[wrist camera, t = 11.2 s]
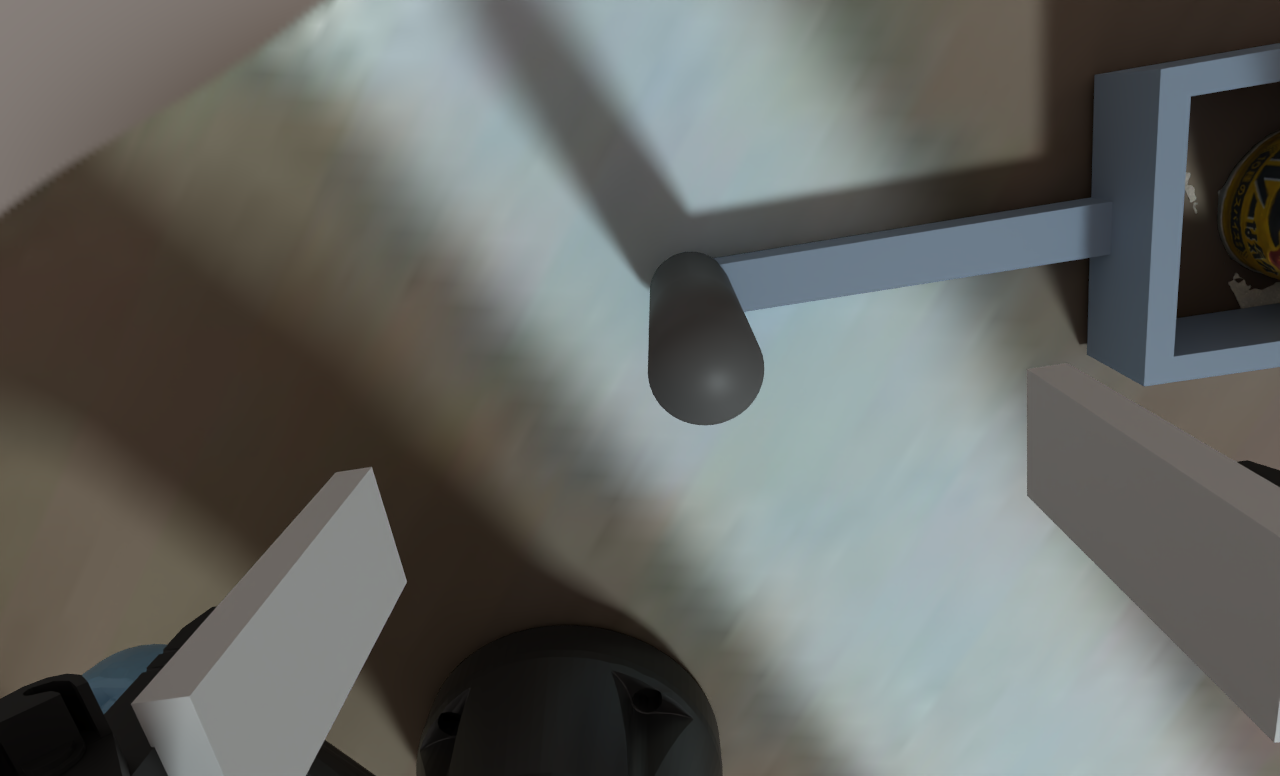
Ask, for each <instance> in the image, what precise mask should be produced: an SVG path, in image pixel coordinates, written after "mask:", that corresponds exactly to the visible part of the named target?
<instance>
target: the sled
mask: <svg viewBox="0 0 1280 776" xmlns="http://www.w3.org/2000/svg"><path fill="white" fill-rule="evenodd" d="M1279 81H1280V43H1276V44H1271V45H1265V46H1259V47H1253V48H1247V49H1242V50H1236V51H1230V52H1224V53H1218V54H1213V55H1207V56H1201V57H1195V58H1189V59H1184V60H1178V61H1172V62H1166V63H1160V64H1155V65H1149V66H1143V67H1137V68H1131V69H1126V70H1120V71H1114V72H1108V73H1102V74H1097V75H1095V81H1094V118H1093V155H1092V191H1091V197H1090V198H1084V199H1078V200H1071V201H1065V202H1059V203H1053V204H1047V205H1040V206H1034V207H1028V208H1022V209H1016V210H1010V211H1003V212H997V213H991V214H985V215H979V216H972V217H966V218H960V219H954V220H948V221H941V222H935V223H929V224H923V225H917V226H910V227H904V228H898V229H892V230H886V231H879V232H873V233H867V234H861V235H855V236H849V237H842V238H836V239H830V240H824V241H818V242H811V243H805V244H799V245H793V246H787V247H780V248H774V249H768V250H762V251H756V252H749V253H743V254H737V255H731V256H725V257H718V258H711V257H710V256H708V255H705V254H702V253H698V252H684V253H680V254H677V255H674V256H672V257H670V258H669V259H667V260H666V261H665V262H663V263H662V264H661V265H660V267H659V268H658V269H657V271H656V272H655V274H654V276H653V278H652V282H651V286H650V312H649V353H648V378H649V383H650V387H651V390H652V392H653V395H654V396H655V398H656V400H657V401H658V403H659V404H660V405H661V406H662V407H663V408H664V409H665V410H666V411H667V412H668V413H669V414H671V415H672V416H674V417H676V418H677V419H679V420H682V421H684V422H687V423H691V424H696V425H714V424H719V423H723V422H725V421H728V420H730V419H732V418H735V417H736V416H738V415H739V414H741V413H742V412H743V411H744V410H746V409H747V408H748V407H749V406H750V405H751V403H752V402H753V401H754V399H755V398H756V396H757V394H758V393H759V391H760V388H761V385H762V382H763V377H764V361H763V356H762V353H761V350H760V347H759V345H758V343H757V341H756V338H755V336H754V334H753V332H752V329H751V327H750V325H749V323H748V320H747V318H746V316H745V314H744V312H745V311H752V310H758V309H765V308H771V307H777V306H784V305H790V304H797V303H803V302H809V301H816V300H822V299H829V298H835V297H841V296H848V295H854V294H861V293H867V292H874V291H880V290H886V289H893V288H899V287H906V286H912V285H918V284H925V283H931V282H938V281H944V280H950V279H957V278H963V277H970V276H976V275H982V274H989V273H995V272H1002V271H1008V270H1014V269H1021V268H1027V267H1034V266H1040V265H1046V264H1053V263H1059V262H1066V261H1072V260H1079V259H1085V258H1090V265H1089V302H1088V339H1087V355H1089V356H1091V357H1093V358H1094V359H1096V360H1098V361H1100V362H1101V363H1103V364H1105V365H1107V366H1109V367H1110V368H1112V369H1114V370H1116V371H1118V372H1119V373H1121V374H1123V375H1125V376H1126V377H1128V378H1130V379H1132V380H1134V381H1135V382H1137V383H1139V384H1141V385H1143V386H1150V385H1157V384H1164V383H1171V382H1178V381H1185V380H1192V379H1198V378H1205V377H1212V376H1219V375H1226V374H1233V373H1240V372H1247V371H1254V370H1261V369H1268V368H1275V367H1280V303H1276V304H1269V305H1262V306H1256V307H1249V308H1242V309H1236V310H1229V311H1222V312H1216V313H1209V314H1202V315H1196V316H1189V317H1182V318H1176V314H1177V299H1178V284H1179V269H1180V254H1181V239H1182V224H1183V209H1184V193H1185V178H1186V163H1187V148H1188V133H1189V118H1190V103H1191V96H1196V95H1202V94H1208V93H1214V92H1220V91H1226V90H1232V89H1238V88H1244V87H1250V86H1256V85H1261V84H1267V83H1273V82H1279Z"/></svg>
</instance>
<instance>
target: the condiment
mask: <svg viewBox="0 0 1280 776" xmlns="http://www.w3.org/2000/svg"><path fill="white" fill-rule="evenodd" d="M1190 176H1191V175H1190V173H1186V178H1185V191H1186V193H1187V195H1188V197H1189V199H1190V202H1194V201H1195V200H1196V197H1195V194H1194V191H1195V188H1194V187H1193V186H1192V185H1187V184H1188V180H1189V178H1190ZM1218 194H1219V198H1218V199H1219V200H1218V215H1217V222H1218V231H1219V234H1220V238H1221V241H1222V242H1223V244H1224V247H1225V249H1226V250H1227V253H1228V255H1229V256H1230V258H1231V259H1234V260H1236V261H1237V262H1238V263H1239V264H1240V265H1241V266H1244V267H1246V268H1248V269H1250V270H1252V271H1255V272H1257V273H1262V274H1264V275H1266V276H1269V277H1272V278H1276V279H1278V280H1280V130H1279V131H1277V132H1274V133H1271V134H1269V135H1268V136H1266V137H1265V138H1264V139H1263V140H1262V141H1260V142H1259V143H1257V144H1256V145H1255V146H1254V147H1252V148H1251V149H1250V151H1249V152H1248V153H1247V154H1246V155H1245V156H1244V157H1243V158H1242V159H1241V160H1240V162H1239V163H1238V164H1237V165H1236V167H1235V168H1234V169H1233V171H1232V172H1231V174H1230V176H1229V178H1228V180H1227V182H1226V183H1225V185H1224V187H1222V189H1221V190H1219V191H1218ZM1197 204H1198V203H1195V202H1194V206H1195V205H1197ZM1194 206H1192V207H1193V208H1194V210H1195V213H1197V209H1196V208H1195V207H1194ZM1224 264H1225V263H1224ZM1236 278H1240V277H1239V275H1238V273H1236V274H1235V276H1234V277H1233V280H1232V281H1230V282H1228V283H1229V285H1230V287H1231V290H1232V291H1233V292H1234V293H1235V296H1236V298H1237V301H1238V303H1239V305H1240V307H1241V309H1242V308H1249V307H1256V306H1262V305H1269V304H1276V303H1280V282H1275V284H1274V285H1272V286H1269V287H1267V288H1265V289H1263V290H1262V291H1261V290H1259V289H1256V288H1255V289H1252V290H1250V291H1249V289H1250V288H1251V284H1250V285H1249V286H1247V285H1246V283H1245V280H1242V282H1240V283H1237V282H1236V281H1235V280H1234V279H1236ZM1241 279H1243V278H1241Z"/></svg>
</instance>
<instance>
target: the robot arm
mask: <svg viewBox="0 0 1280 776" xmlns="http://www.w3.org/2000/svg"><path fill="white" fill-rule="evenodd" d="M1027 496H1028V497H1029V498H1030V499H1031V500H1032V501H1033V502H1034V503H1035V504H1036V505H1037V506H1038V507H1039V508H1040V509H1041V510H1042V511H1043V512H1044V513H1045V514H1046V515H1047V516H1048V517H1049V518H1050V519H1051V520H1052V521H1053V522H1054V523H1055V524H1056V525H1057V526H1058V527H1059V528H1060V529H1061V530H1062V531H1063V532H1064V533H1065V534H1066V535H1067V536H1068V537H1069V538H1070V539H1071V540H1072V541H1073V542H1074V543H1075V544H1076V545H1077V546H1078V547H1079V548H1080V549H1081V550H1082V551H1083V552H1084V553H1085V554H1086V555H1087V556H1088V557H1089V558H1090V559H1091V560H1092V561H1093V562H1094V563H1095V564H1096V565H1097V566H1098V567H1099V568H1100V569H1101V570H1102V571H1103V572H1104V573H1105V574H1106V575H1107V576H1108V577H1109V578H1110V579H1111V580H1112V581H1113V582H1114V583H1115V584H1116V585H1117V586H1118V587H1119V588H1120V589H1121V590H1122V591H1123V592H1124V593H1125V594H1126V595H1127V596H1128V597H1129V598H1130V599H1131V600H1132V601H1133V602H1134V603H1135V604H1136V605H1137V606H1138V607H1139V608H1140V609H1141V610H1142V611H1143V612H1144V613H1145V614H1146V615H1147V616H1148V617H1149V618H1150V619H1151V620H1152V621H1153V622H1154V623H1155V624H1156V625H1157V626H1158V627H1159V628H1160V629H1161V630H1162V631H1163V632H1164V633H1165V634H1166V635H1167V636H1168V637H1169V638H1170V639H1171V640H1172V641H1173V642H1174V643H1175V644H1176V645H1177V646H1178V647H1179V648H1180V649H1181V650H1182V651H1183V652H1184V653H1185V654H1186V655H1187V656H1188V657H1189V658H1190V659H1191V660H1192V661H1193V662H1194V663H1195V664H1196V665H1197V666H1198V667H1199V668H1200V669H1201V670H1202V671H1203V672H1204V673H1205V674H1206V675H1207V676H1208V677H1209V678H1210V679H1211V680H1212V681H1213V682H1214V683H1215V684H1216V685H1217V686H1218V687H1219V688H1220V689H1221V690H1222V691H1223V692H1224V693H1225V694H1226V695H1227V696H1228V697H1229V698H1230V699H1231V700H1232V701H1233V702H1234V703H1235V704H1236V705H1237V706H1238V707H1239V708H1240V709H1241V710H1242V711H1243V712H1244V713H1245V714H1246V715H1247V716H1248V717H1249V718H1250V719H1251V720H1252V721H1253V722H1254V723H1255V724H1256V725H1257V726H1258V727H1259V728H1260V729H1261V730H1262V731H1263V732H1264V733H1265V734H1266V735H1267V736H1268V737H1269V738H1270V739H1271V740H1272V741H1273V742H1274V743H1275V742H1280V470H1276V469H1273V468H1270V467H1267V466H1264V465H1261V464H1257V463H1254V462H1251V461H1248V460H1247V461H1240V462H1236V461H1234V460H1232V459H1231V458H1229V457H1227V456H1225V455H1224V454H1222V453H1220V452H1219V451H1217V450H1215V449H1213V448H1212V447H1210V446H1208V445H1207V444H1205V443H1203V442H1202V441H1200V440H1198V439H1196V438H1195V437H1193V436H1191V435H1190V434H1188V433H1186V432H1184V431H1183V430H1181V429H1179V428H1178V427H1176V426H1174V425H1173V424H1171V423H1169V422H1167V421H1166V420H1164V419H1162V418H1161V417H1159V416H1157V415H1156V414H1154V413H1152V412H1150V411H1149V410H1147V409H1145V408H1144V407H1142V406H1140V405H1138V404H1137V403H1135V402H1133V401H1132V400H1130V399H1128V398H1127V397H1125V396H1123V395H1121V394H1120V393H1118V392H1116V391H1115V390H1113V389H1111V388H1110V387H1108V386H1106V385H1104V384H1103V383H1101V382H1099V381H1098V380H1096V379H1094V378H1092V377H1091V376H1089V375H1087V374H1086V373H1084V372H1082V371H1081V370H1079V369H1077V368H1075V367H1074V366H1072V365H1070V364H1069V363H1063V364H1057V365H1050V366H1043V367H1037V368H1030V369H1027ZM406 583H407V580H406V577H405V574H404V570H403V567H402V564H401V561H400V557H399V554H398V551H397V547H396V544H395V541H394V538H393V534H392V531H391V528H390V525H389V521H388V518H387V515H386V512H385V508H384V505H383V502H382V499H381V495H380V492H379V489H378V486H377V482H376V479H375V476H374V472H373V469H372V467H368V468H361V469H355V470H348V471H341V472H336V473H335V474H334V475H333V476H332V477H331V478H330V479H329V481H328V482H327V483H326V484H325V485H324V486H323V487H322V488H321V490H320V491H319V492H318V493H317V494H316V495H315V496H314V497H313V499H312V500H311V501H310V502H309V503H308V504H307V505H306V507H305V508H304V509H303V510H302V511H301V512H300V513H299V514H298V516H297V517H296V518H295V519H294V520H293V521H292V522H291V523H290V525H289V526H288V527H287V528H286V529H285V530H284V531H283V533H282V534H281V535H280V536H279V537H278V538H277V539H276V540H275V542H274V543H273V544H272V545H271V546H270V547H269V548H268V549H267V551H266V552H265V553H264V554H263V555H262V556H261V557H260V559H259V560H258V561H257V562H256V563H255V564H254V565H253V566H252V568H251V569H250V570H249V571H248V572H247V573H246V574H245V576H244V577H243V578H242V579H241V580H240V581H239V582H238V583H237V585H236V586H235V587H234V588H233V589H232V590H231V591H230V592H229V594H228V595H227V596H226V597H225V598H224V599H223V600H222V602H221V603H220V604H219V605H218V606H217V607H212V608H210V609H209V610H207V611H206V612H205V613H203V614H202V615H200V616H199V617H198V618H196V619H195V620H193V621H192V622H191V623H189V624H188V625H186V626H185V627H183V628H182V630H181V631H180V632H179V633H178V634H177V635H176V636H175V637H174V638H173V639H172V640H171V642H170V643H169V644H168V645H165V644H151V645H141V646H137V647H133V648H129V649H125V650H123V651H120V652H118V653H115V654H113V655H111V656H109V657H107V658H106V659H104V660H102V661H101V662H99V663H98V664H97V665H95V666H94V667H92V668H91V669H90V670H88V671H87V672H85V673H84V674H83V675H76V674H63V675H58V676H53V677H48V678H45V679H43V680H40V681H37V682H35V683H32V684H29V685H27V686H24V687H22V688H20V689H18V690H16V691H14V692H13V693H11V694H9V695H7V696H5V697H3V698H1V699H0V776H375V775H374V774H373V773H371V772H370V771H368V770H367V769H366V768H364V767H363V766H361V765H360V764H359V763H357V762H356V761H354V760H353V759H351V758H350V757H349V756H347V755H346V754H344V753H343V752H342V751H340V750H339V749H337V748H336V747H335V746H333V745H332V744H330V743H329V742H327V741H326V740H325V738H326V736H327V734H328V732H329V730H330V729H331V727H332V725H333V723H334V721H335V719H336V717H337V715H338V713H339V711H340V709H341V707H342V706H343V704H344V702H345V700H346V698H347V696H348V694H349V692H350V690H351V688H352V686H353V684H354V683H355V681H356V679H357V677H358V675H359V673H360V671H361V669H362V667H363V665H364V663H365V661H366V660H367V658H368V656H369V654H370V652H371V650H372V648H373V646H374V644H375V642H376V640H377V639H378V637H379V635H380V633H381V631H382V629H383V627H384V625H385V623H386V621H387V619H388V617H389V616H390V614H391V612H392V610H393V608H394V606H395V604H396V602H397V600H398V598H399V596H400V594H401V593H402V591H403V589H404V587H405V585H406ZM416 775H417V776H723V775H722V759H721V749H720V739H719V731H718V726H717V722H716V719H715V715H714V713H713V710H712V708H711V705H710V703H709V701H708V700H707V698H706V696H705V694H704V693H703V691H702V690H701V688H700V687H699V686H698V684H697V683H696V682H695V680H694V679H693V678H692V677H691V676H690V675H689V674H688V673H687V672H686V671H685V670H684V669H683V668H682V667H681V666H680V665H679V664H677V663H676V662H675V661H674V660H672V659H671V658H670V657H668V656H667V655H665V654H664V653H662V652H661V651H659V650H657V649H656V648H654V647H652V646H650V645H648V644H646V643H644V642H642V641H640V640H637V639H635V638H632V637H630V636H627V635H624V634H621V633H617V632H614V631H610V630H605V629H600V628H594V627H586V626H570V625H564V626H548V627H540V628H534V629H529V630H525V631H520V632H517V633H514V634H511V635H508V636H505V637H503V638H500V639H498V640H496V641H494V642H491V643H489V644H488V645H486V646H484V647H482V648H481V649H479V650H478V651H476V652H474V653H473V654H472V655H470V656H469V657H468V658H466V659H465V660H464V661H463V662H462V663H461V664H460V665H459V666H457V668H456V669H455V670H454V671H453V672H452V673H451V674H450V675H449V677H448V678H447V679H446V681H445V682H444V684H443V685H442V687H441V688H440V690H439V692H438V694H437V696H436V698H435V700H434V703H433V705H432V708H431V711H430V713H429V716H428V719H427V722H426V724H425V727H424V730H423V733H422V736H421V739H420V744H419V749H418V755H417V764H416Z"/></svg>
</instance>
